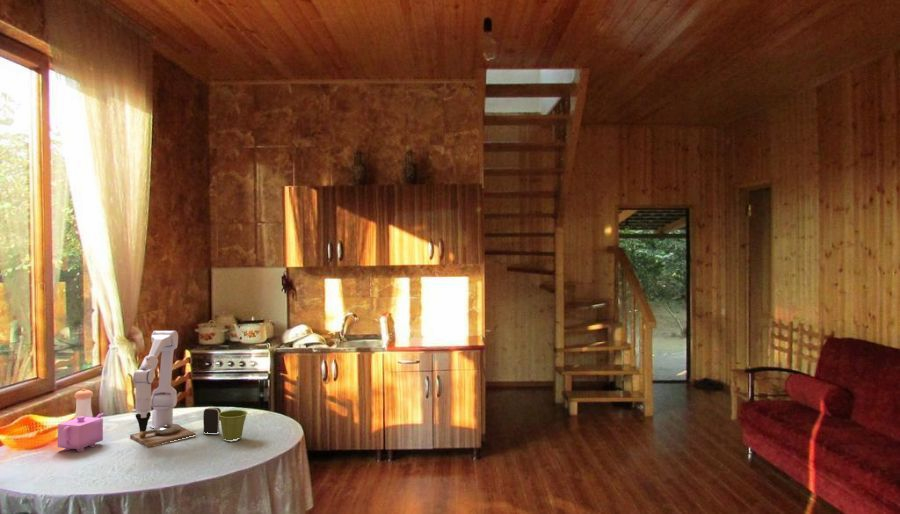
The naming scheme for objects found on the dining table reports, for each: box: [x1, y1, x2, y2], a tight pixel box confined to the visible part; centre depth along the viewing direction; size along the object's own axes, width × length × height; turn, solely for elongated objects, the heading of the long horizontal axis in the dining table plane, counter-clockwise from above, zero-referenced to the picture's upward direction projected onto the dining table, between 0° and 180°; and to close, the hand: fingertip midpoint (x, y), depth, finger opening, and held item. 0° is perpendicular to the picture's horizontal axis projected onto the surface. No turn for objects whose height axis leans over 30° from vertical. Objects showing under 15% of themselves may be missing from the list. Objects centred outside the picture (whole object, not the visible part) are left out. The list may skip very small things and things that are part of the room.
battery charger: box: [202, 407, 222, 433], centre depth 260 cm, size 7×4×11 cm, turn 81°
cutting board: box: [129, 426, 197, 448], centre depth 254 cm, size 18×20×2 cm
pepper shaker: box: [73, 388, 94, 419], centre depth 260 cm, size 7×7×19 cm
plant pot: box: [218, 409, 248, 440], centre depth 252 cm, size 12×12×11 cm
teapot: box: [57, 412, 104, 453], centre depth 241 cm, size 20×10×12 cm, turn 168°
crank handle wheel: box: [138, 423, 180, 437], centre depth 254 cm, size 16×10×5 cm, turn 138°
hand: (142, 431), depth 247 cm, fingers closed
